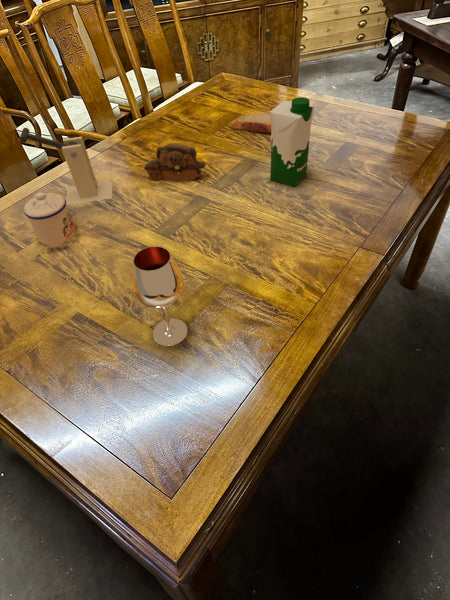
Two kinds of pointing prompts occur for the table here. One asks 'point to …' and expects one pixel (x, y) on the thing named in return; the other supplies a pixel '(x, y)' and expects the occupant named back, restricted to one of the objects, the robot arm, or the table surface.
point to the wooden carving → (175, 163)
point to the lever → (41, 139)
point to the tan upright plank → (83, 175)
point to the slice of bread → (254, 122)
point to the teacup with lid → (50, 219)
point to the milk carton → (290, 140)
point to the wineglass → (159, 290)
